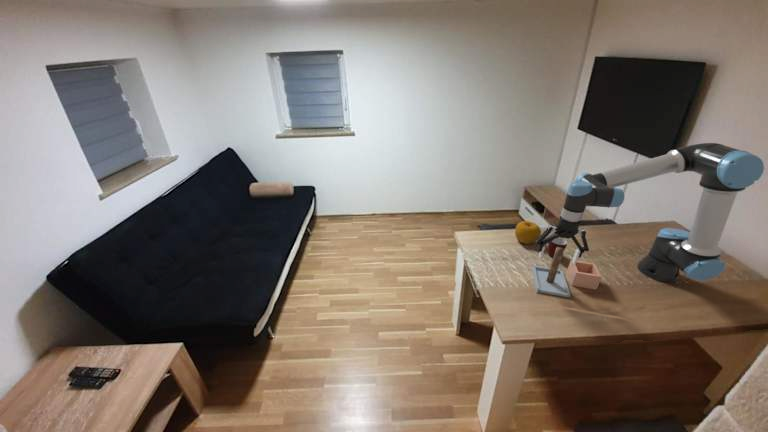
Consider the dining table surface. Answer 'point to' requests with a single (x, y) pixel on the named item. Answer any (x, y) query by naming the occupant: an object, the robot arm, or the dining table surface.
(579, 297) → the dining table surface
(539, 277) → the tray
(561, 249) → the dowel
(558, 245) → the mug
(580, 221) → the robot arm
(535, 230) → the apple
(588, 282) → the pink open square box
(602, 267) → the dining table surface
